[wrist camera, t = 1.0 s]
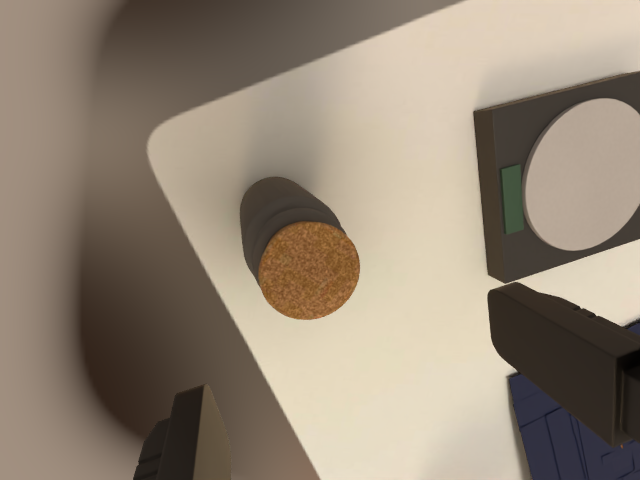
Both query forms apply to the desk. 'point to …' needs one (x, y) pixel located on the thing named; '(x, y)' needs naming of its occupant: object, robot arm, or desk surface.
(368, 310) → the desk surface
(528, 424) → the papers
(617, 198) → the scale
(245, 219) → the bottle
